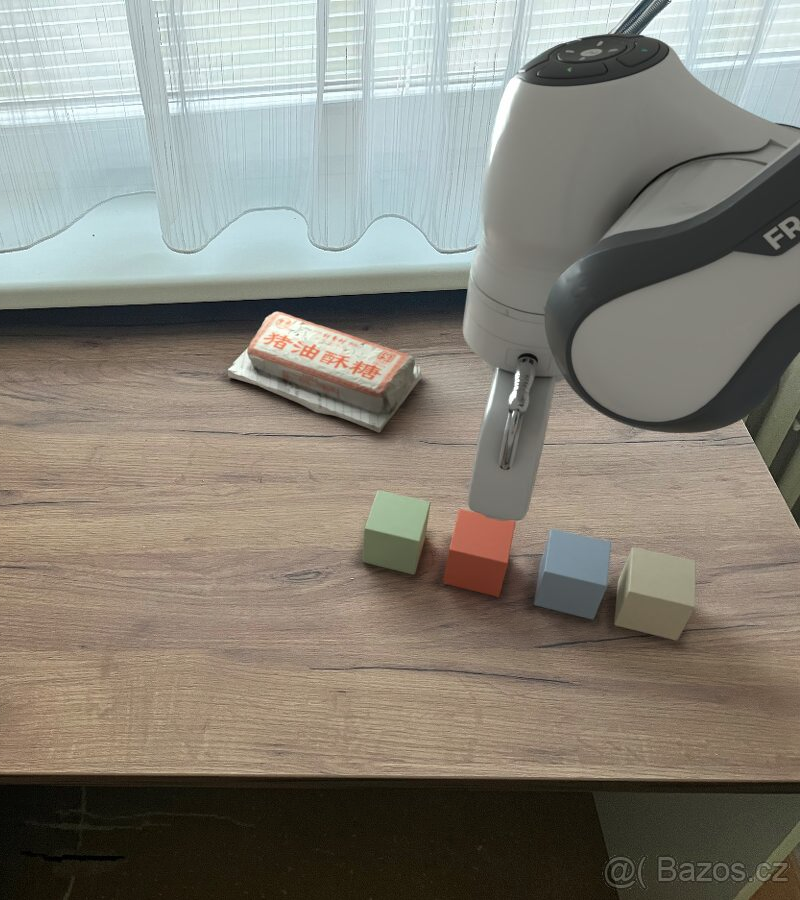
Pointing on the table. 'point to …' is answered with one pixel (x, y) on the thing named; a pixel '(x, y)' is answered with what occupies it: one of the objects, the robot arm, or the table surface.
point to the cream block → (656, 593)
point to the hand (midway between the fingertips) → (506, 465)
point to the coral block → (479, 553)
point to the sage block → (395, 532)
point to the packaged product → (327, 370)
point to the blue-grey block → (573, 574)
